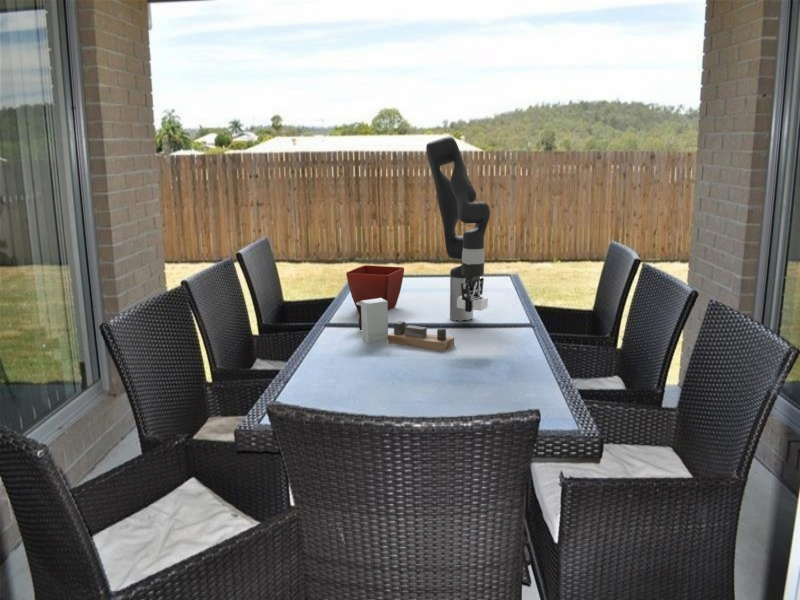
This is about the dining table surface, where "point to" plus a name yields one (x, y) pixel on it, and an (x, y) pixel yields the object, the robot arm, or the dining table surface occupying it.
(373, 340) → the skincare box
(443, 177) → the robot arm
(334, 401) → the dining table surface
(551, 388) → the dining table surface
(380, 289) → the plant pot
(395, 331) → the body
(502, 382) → the dining table surface
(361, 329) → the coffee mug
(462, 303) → the lever cap
